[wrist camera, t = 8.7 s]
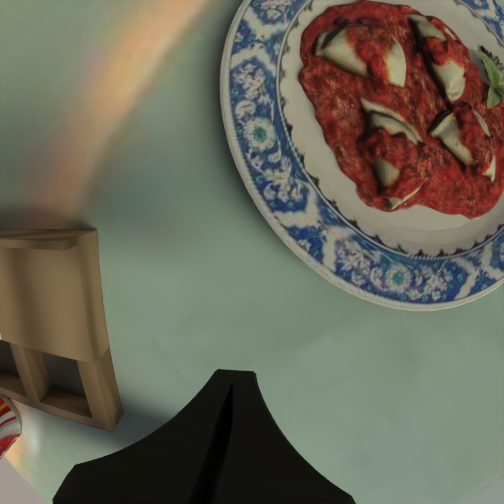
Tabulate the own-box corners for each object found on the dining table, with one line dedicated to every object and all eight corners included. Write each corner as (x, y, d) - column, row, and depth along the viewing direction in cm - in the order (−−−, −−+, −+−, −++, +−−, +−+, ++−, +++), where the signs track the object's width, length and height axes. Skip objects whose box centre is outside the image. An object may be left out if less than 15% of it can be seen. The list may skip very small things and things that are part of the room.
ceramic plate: (266, 332, 20) (266, 355, 18) (198, -31, 15) (189, -55, 12) (550, 261, 18) (572, 270, 16) (493, -17, 13) (510, -29, 10)
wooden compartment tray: (97, 230, 19) (63, 241, 15) (123, 413, 22) (105, 444, 18) (-32, 228, 20) (-63, 237, 16) (0, 375, 23) (-22, 395, 19)
